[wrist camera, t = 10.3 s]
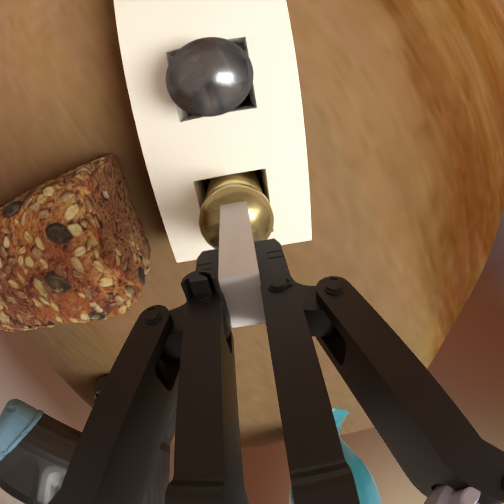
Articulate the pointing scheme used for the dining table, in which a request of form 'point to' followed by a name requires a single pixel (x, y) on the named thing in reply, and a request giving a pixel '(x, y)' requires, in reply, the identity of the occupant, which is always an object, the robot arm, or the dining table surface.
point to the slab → (222, 126)
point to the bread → (71, 250)
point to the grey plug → (209, 76)
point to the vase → (355, 468)
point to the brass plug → (231, 192)
